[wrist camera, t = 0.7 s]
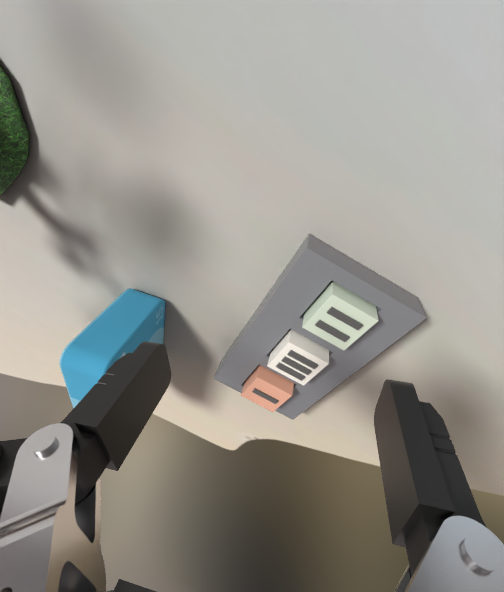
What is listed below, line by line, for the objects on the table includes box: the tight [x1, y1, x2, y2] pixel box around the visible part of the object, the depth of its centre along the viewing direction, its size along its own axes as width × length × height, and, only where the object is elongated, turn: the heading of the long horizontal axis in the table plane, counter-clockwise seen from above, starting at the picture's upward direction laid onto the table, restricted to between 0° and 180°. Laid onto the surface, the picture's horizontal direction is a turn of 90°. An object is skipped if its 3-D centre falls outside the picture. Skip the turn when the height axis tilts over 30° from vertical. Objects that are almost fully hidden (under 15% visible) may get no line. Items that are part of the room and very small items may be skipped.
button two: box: [302, 280, 379, 350], centre depth 26 cm, size 5×5×3 cm
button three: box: [267, 329, 329, 386], centre depth 30 cm, size 5×5×3 cm
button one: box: [241, 365, 294, 412], centre depth 34 cm, size 5×5×3 cm
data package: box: [60, 289, 165, 408], centre depth 33 cm, size 12×4×12 cm, turn 166°
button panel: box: [214, 234, 426, 419], centre depth 31 cm, size 22×12×3 cm, turn 154°
